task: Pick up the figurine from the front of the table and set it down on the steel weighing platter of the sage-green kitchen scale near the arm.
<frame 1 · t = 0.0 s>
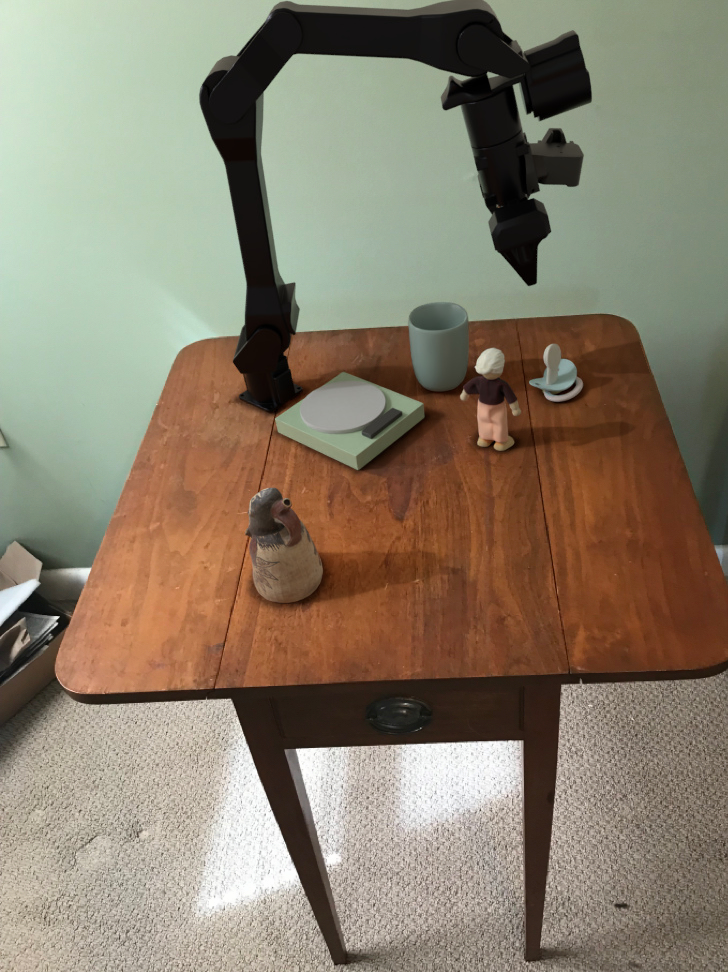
hand: (527, 267, 94), 15 cm above the table, tool pointing down, fingers open, 9 cm apart
pacifier: (557, 391, 102), on the table
kitchen scale: (351, 424, 99), on the table
grandmother figurine: (490, 442, 95), on the table
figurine: (290, 580, 81), on the table
cup: (441, 384, 105), on the table
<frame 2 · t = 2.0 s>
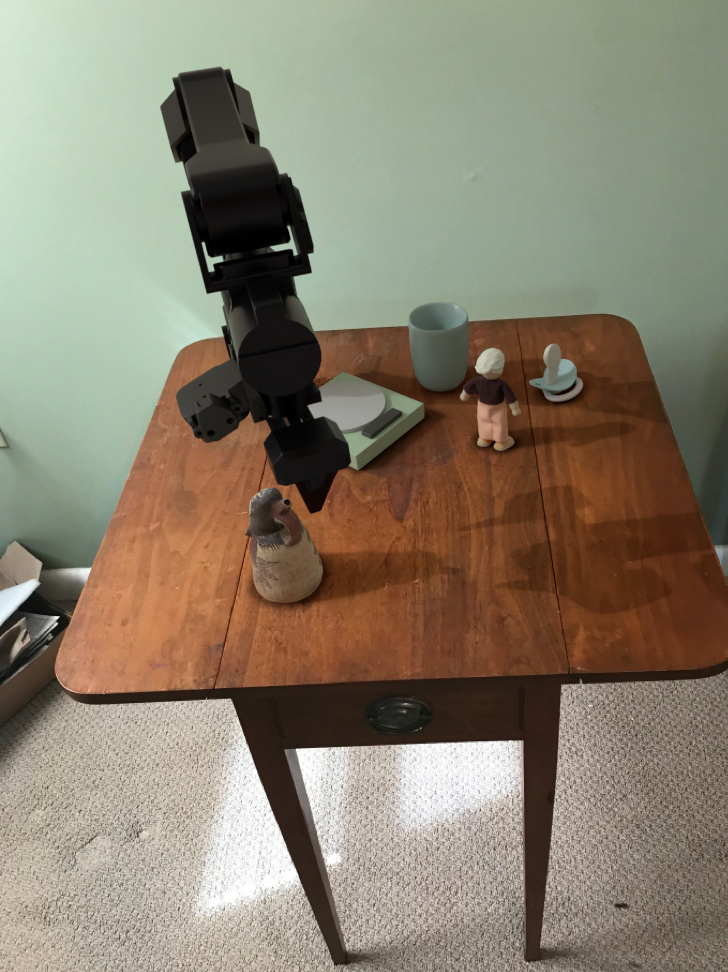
hand: (301, 482, 72), 12 cm above the table, tool pointing down, fingers open, 9 cm apart
nothing on the table moved.
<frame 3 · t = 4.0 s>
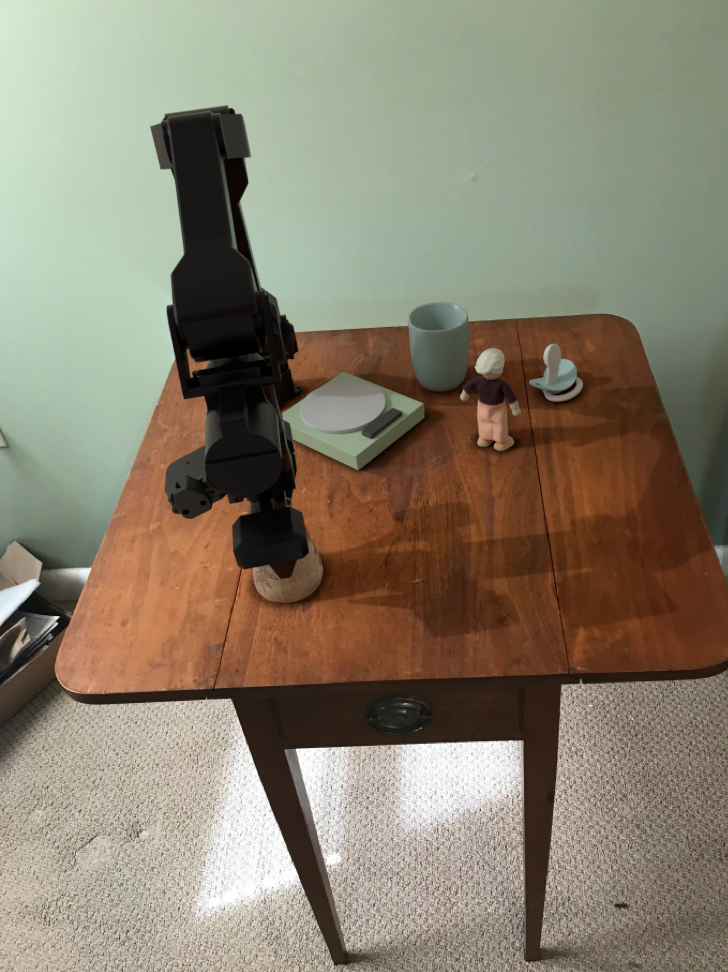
hand: (283, 552, 77), 4 cm above the table, tool pointing down, fingers closed on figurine, 7 cm apart
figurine: (290, 580, 81), on the table, touching gripper
everything else where it was.
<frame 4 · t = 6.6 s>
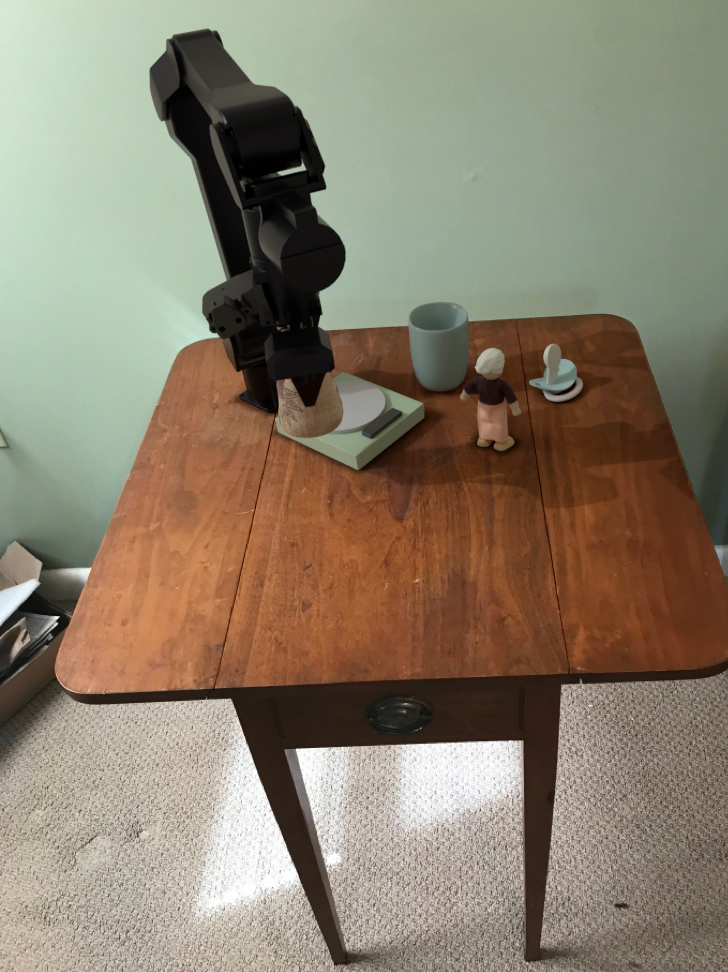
hand: (307, 387, 83), 13 cm above the table, tool pointing down, fingers closed on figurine, 6 cm apart
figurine: (313, 421, 87), point 8 cm above the table, touching gripper
everything else where it was.
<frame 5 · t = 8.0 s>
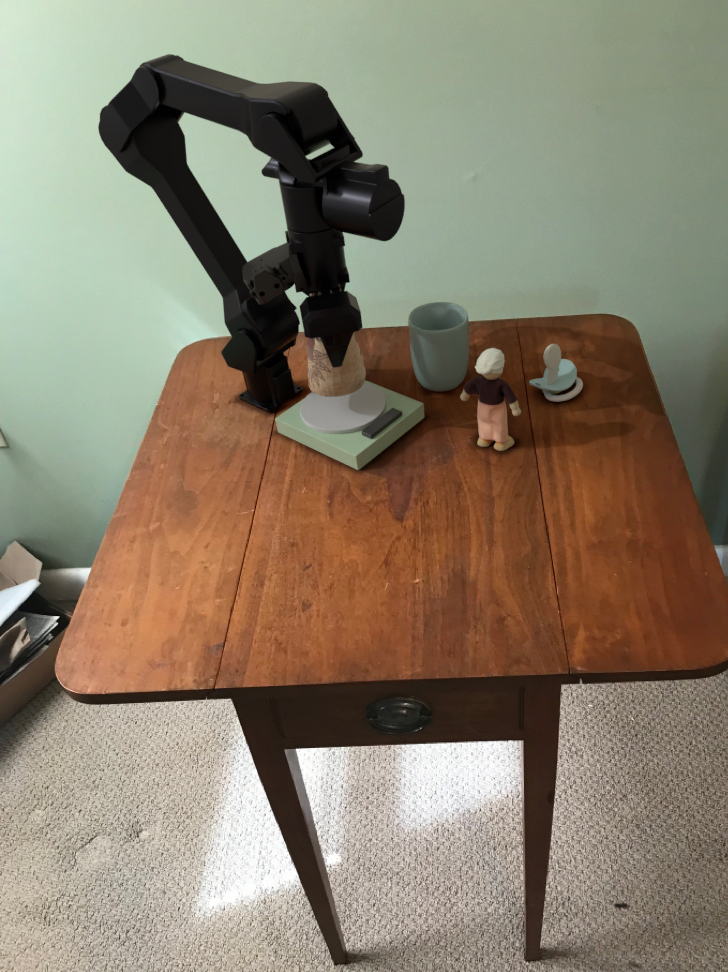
hand: (333, 351, 93), 10 cm above the table, tool pointing down, fingers closed on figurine, 6 cm apart
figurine: (338, 383, 96), point 6 cm above the table, touching gripper
everything else where it was.
when the fingers open (7 cm above the table, at t = 9.3 s): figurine stays where it is, resting on kitchen scale.
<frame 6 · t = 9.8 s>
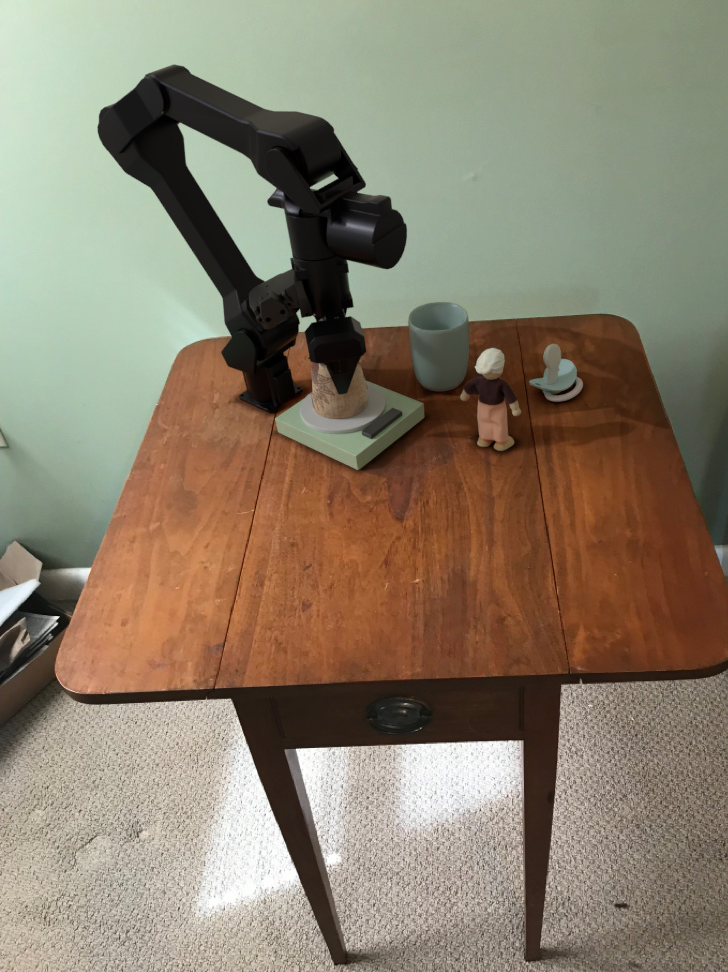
hand: (337, 373, 95), 7 cm above the table, tool pointing down, fingers open, 9 cm apart
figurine: (341, 405, 98), point 3 cm above the table, touching kitchen scale
everything else where it was.
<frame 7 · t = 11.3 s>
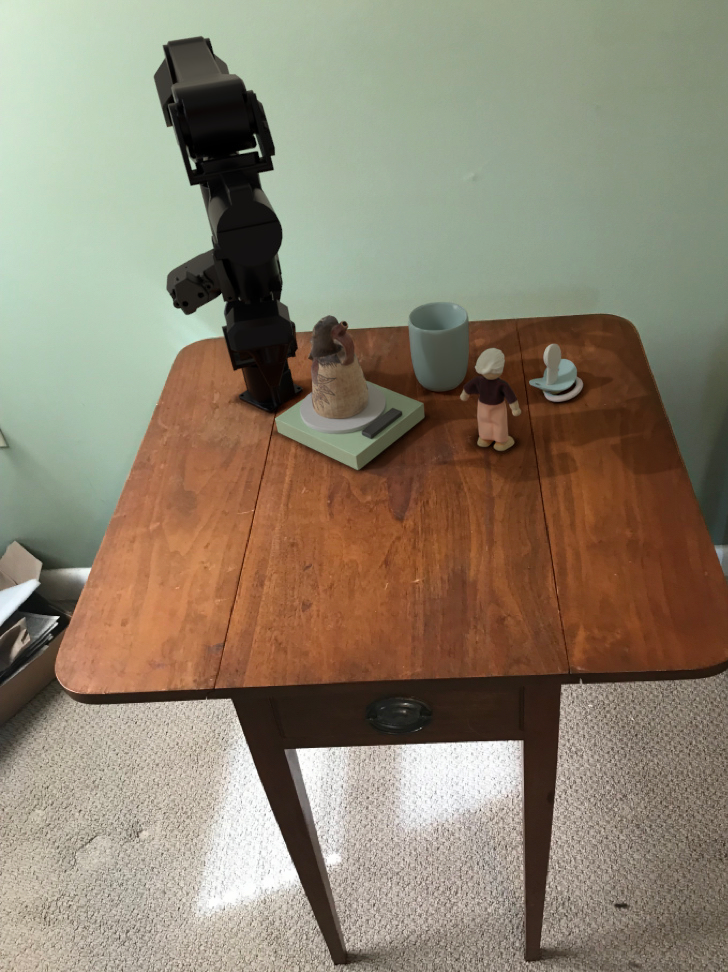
hand: (271, 364, 87), 13 cm above the table, tool pointing down, fingers open, 9 cm apart
nothing on the table moved.
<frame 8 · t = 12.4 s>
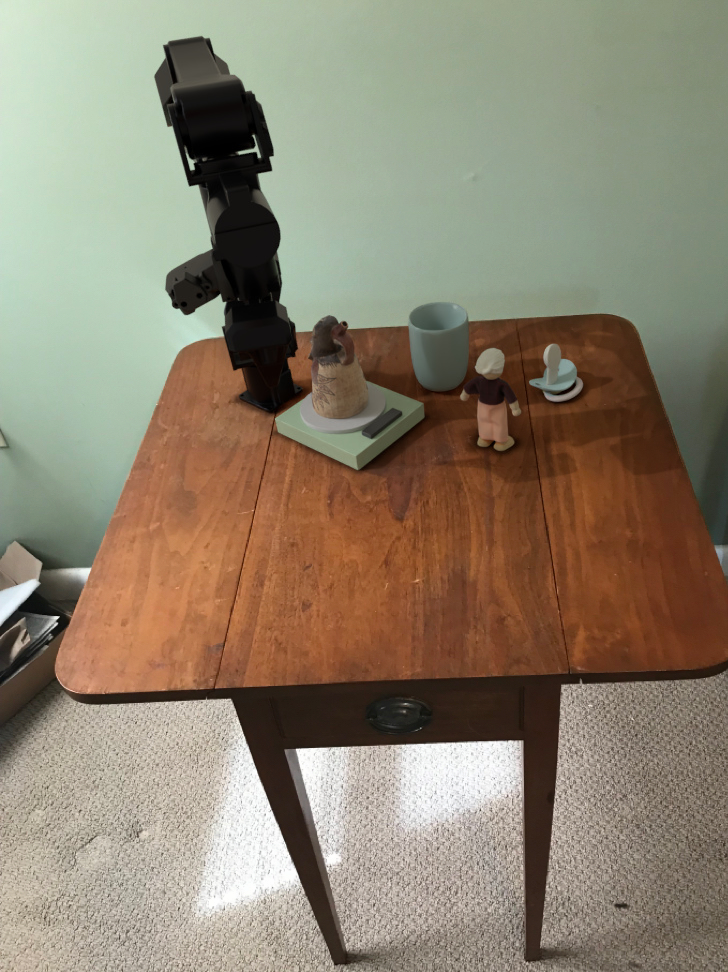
hand: (270, 364, 87), 13 cm above the table, tool pointing down, fingers open, 9 cm apart
nothing on the table moved.
at the end: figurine inside the target area on the kitchen scale (0.2 cm from its centre), point 2.6 cm above the kitchen scale's base; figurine tilted 0°; the gripper is holding nothing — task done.
